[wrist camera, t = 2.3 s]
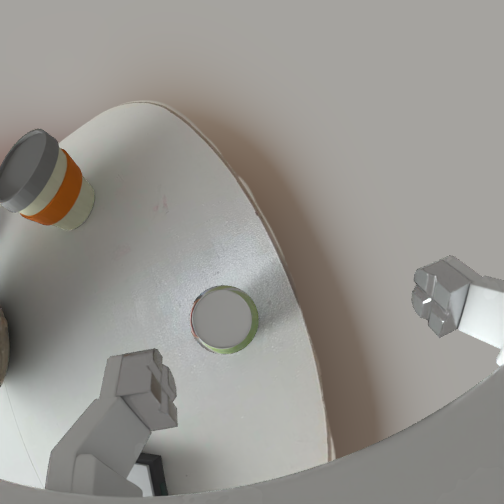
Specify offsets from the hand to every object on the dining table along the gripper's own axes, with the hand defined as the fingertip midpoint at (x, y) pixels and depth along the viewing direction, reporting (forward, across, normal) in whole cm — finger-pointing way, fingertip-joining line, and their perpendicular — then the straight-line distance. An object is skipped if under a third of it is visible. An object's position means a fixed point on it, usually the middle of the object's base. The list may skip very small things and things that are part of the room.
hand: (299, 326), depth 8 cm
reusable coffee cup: (+43, +25, +2) cm, 50 cm away
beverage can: (+22, +2, +18) cm, 28 cm away
